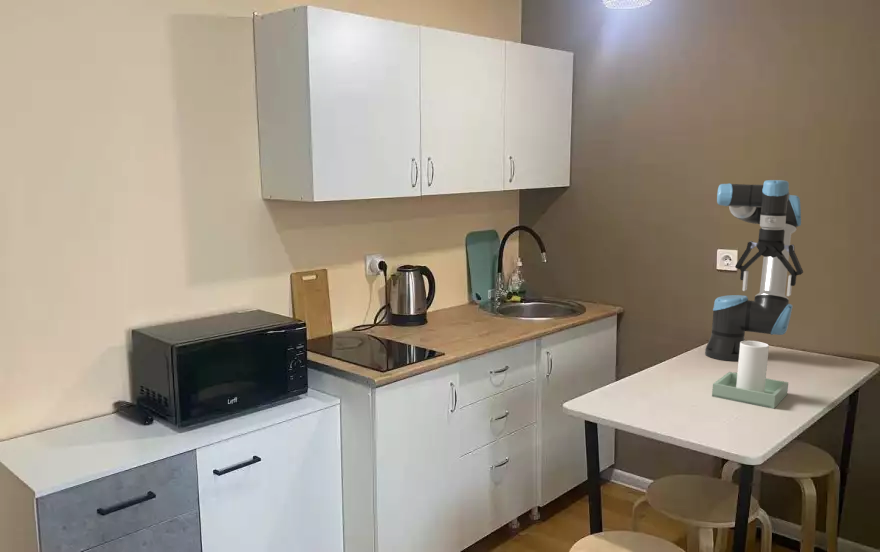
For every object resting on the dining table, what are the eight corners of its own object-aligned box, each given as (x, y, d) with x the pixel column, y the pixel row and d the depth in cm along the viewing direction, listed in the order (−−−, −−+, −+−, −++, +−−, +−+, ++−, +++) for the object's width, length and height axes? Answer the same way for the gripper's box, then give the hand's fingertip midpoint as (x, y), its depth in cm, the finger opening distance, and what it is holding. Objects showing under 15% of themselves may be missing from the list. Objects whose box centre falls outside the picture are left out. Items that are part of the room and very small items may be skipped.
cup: (759, 390, 230) (763, 341, 228) (767, 398, 222) (772, 347, 220) (732, 388, 231) (736, 340, 229) (740, 396, 223) (744, 346, 220)
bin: (728, 383, 239) (729, 371, 238) (787, 394, 228) (788, 382, 228) (711, 396, 225) (712, 383, 224) (773, 408, 214) (775, 395, 214)
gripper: (728, 226, 238) (723, 289, 241) (812, 232, 223) (805, 299, 227) (735, 224, 244) (730, 286, 247) (817, 230, 229) (810, 295, 232)
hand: (766, 292), depth 237 cm, fingers open, 13 cm apart
